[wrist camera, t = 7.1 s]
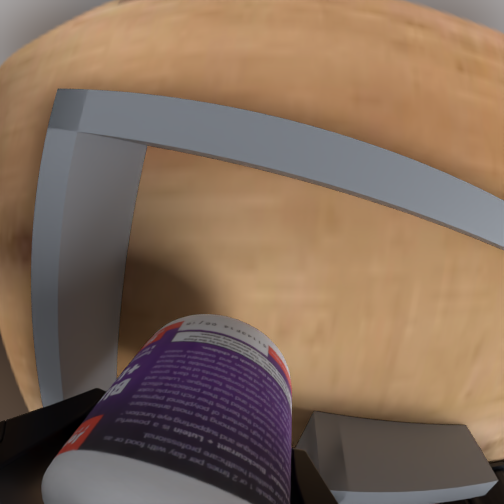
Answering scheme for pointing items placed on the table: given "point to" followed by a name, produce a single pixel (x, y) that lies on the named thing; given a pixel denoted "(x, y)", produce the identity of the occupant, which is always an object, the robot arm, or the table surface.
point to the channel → (259, 157)
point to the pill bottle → (185, 424)
